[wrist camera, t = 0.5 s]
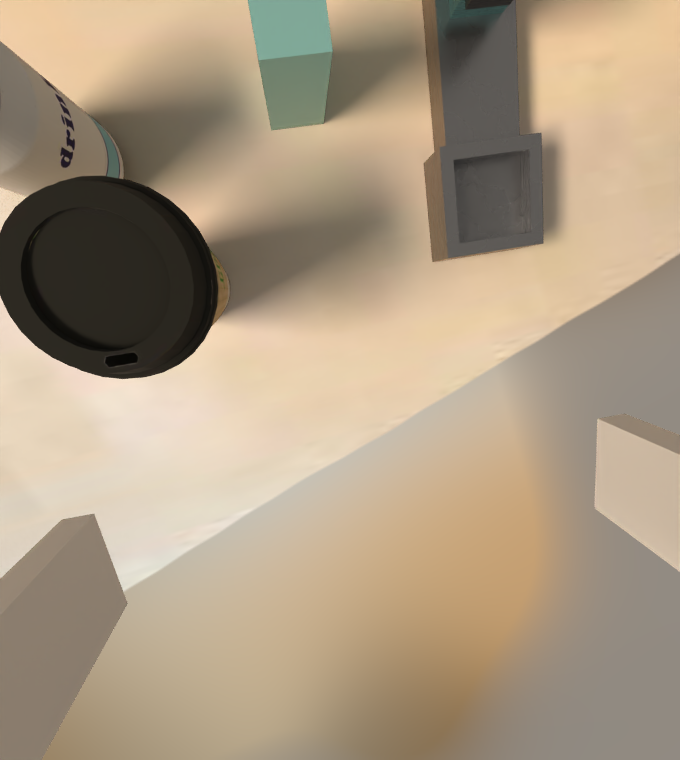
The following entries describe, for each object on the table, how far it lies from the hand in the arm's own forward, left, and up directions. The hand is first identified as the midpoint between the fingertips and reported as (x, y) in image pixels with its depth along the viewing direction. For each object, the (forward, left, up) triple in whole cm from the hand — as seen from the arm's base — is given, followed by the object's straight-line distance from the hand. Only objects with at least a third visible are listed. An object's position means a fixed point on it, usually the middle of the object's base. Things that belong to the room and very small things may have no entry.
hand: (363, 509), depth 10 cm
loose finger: (-21, +1, -25) cm, 32 cm away
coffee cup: (-8, -10, -25) cm, 28 cm away
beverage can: (-18, -16, -25) cm, 34 cm away
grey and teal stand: (-18, +15, -25) cm, 34 cm away
